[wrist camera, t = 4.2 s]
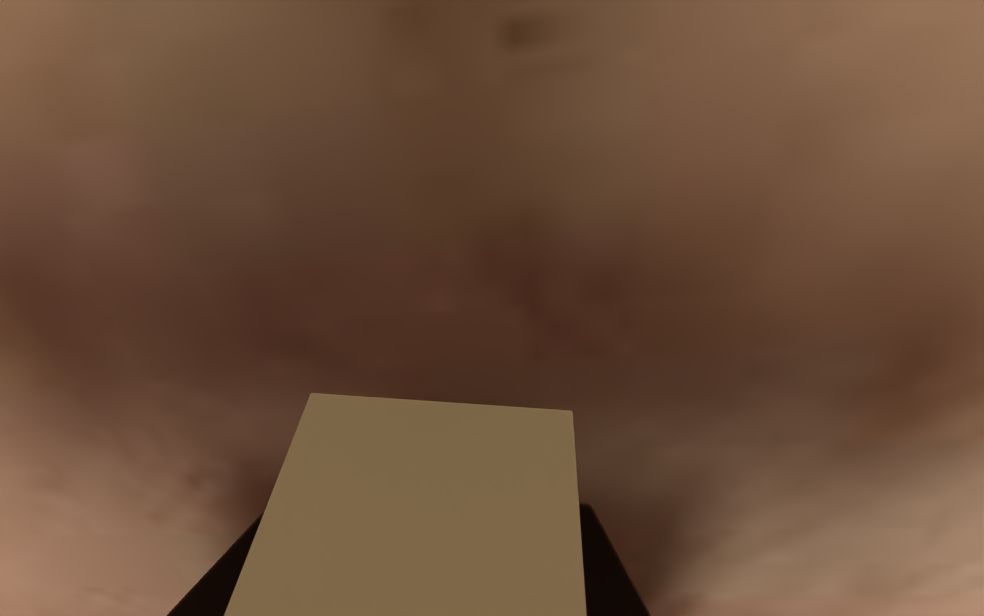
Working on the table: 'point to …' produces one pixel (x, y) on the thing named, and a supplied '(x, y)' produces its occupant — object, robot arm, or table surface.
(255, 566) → the lid
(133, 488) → the table surface
